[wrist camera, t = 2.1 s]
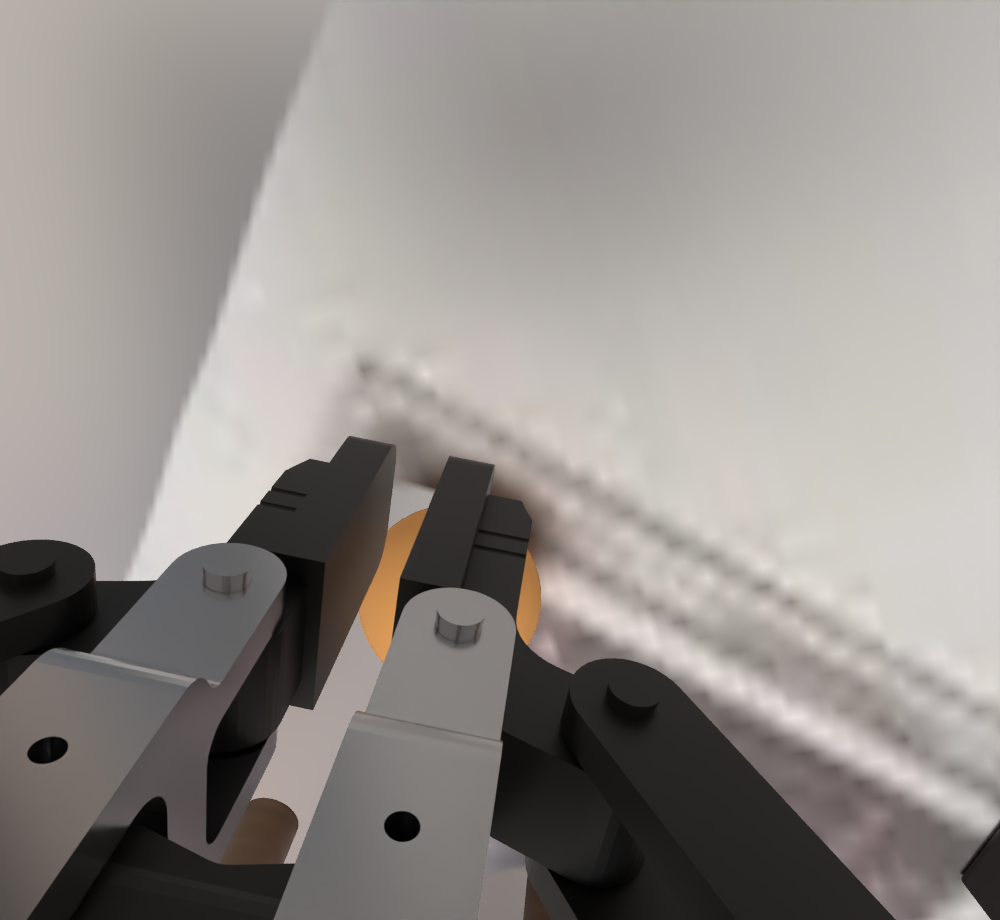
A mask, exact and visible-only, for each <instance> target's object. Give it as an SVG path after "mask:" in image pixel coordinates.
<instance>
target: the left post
mask: <svg viewBox="0 0 1000 920" xmlns="http://www.w3.org/2000/svg"><path fill="white" fill-rule="evenodd" d="M297 829H298V820H297V817H296V815H295V814H294V812H293V811H292V810H291V809H290V808H289V807H288V806H287V805H285V804H283V803H281V802H279V801H277V800H274V799H269V798H258V799H254V800H252V801H250V802H249V804H248V806H247V808H246V810H245V812H244V814H243V816H242V818H241V820H240V822H239V824H238V826H237V828H236V830H235V832H234V834H233V836H232V838H231V840H230V842H229V844H228V846H227V848H226V850H225V852H224V854H223V856H222V858H221V860H220V862H219V864H226V865H246V864H283V863H284V861H285V858H286V856H287V854H288V851H289V849H290V846H291V844H292V841H293V838H294V836H295V834H296V832H297Z"/></svg>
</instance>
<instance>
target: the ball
mask: <svg viewBox="0 0 1000 920" xmlns="http://www.w3.org/2000/svg"><path fill="white" fill-rule="evenodd" d="M427 510H428V508H427V509H424V510H421V511H418V512H415V513H413V514H411V515H409V516H407V517H406V518H404V519H402V520H400V521H399V522H398V523H396V524H395V525H393V526H392V527H391V528H390V529H389V530H388V531H387V536H386V541H385V546H384V550H383V554H382V558H381V561H380V564H379V567H378V569H377V572H376V574H375V576H374V578H373V580H372V583H371V585H370V587H369V589H368V591H367V594H366V596H365V598H364V600H363V602H362V604H361V607H360V609H359V616H360V621H361V625H362V628H363V631H364V633H365V636H366V638H367V640H368V642H369V644H370V646H371V648H372V649H373V651H374V652H375V653H376V655H377V656H378V657H379V659H380V660H381V661H382V662H383V663H384V660H385V657H386V655H387V652H388V649H389V646H390V644H391V641H392V633H393V626H394V618H395V611H396V603H397V596H398V588H399V581H400V576H401V574H402V571H403V569H404V567H405V564H406V562H407V559H408V557H409V554H410V552H411V549H412V547H413V544H414V542H415V539H416V537H417V535H418V532H419V530H420V527H421V525H422V522H423V520H424V517H425V515H426V512H427ZM540 608H541V586H540V580H539V575H538V571H537V568H536V565H535V562H534V560H533V558H532V556H531V554H530V552H529V551H528V549H527V555H526V561H525V567H524V574H523V580H522V586H521V592H520V598H519V605H518V611H517V619H516V624H517V628H518V631H519V634H520V636H521V638H522V639H523V641H524V642H525V644H526V645H527V646H528V644H529V642H530V640H531V638H532V636H533V634H534V632H535V629H536V626H537V623H538V619H539V615H540Z"/></svg>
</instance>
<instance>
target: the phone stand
mask: <svg viewBox="0 0 1000 920" xmlns="http://www.w3.org/2000/svg"><path fill="white" fill-rule="evenodd" d="M962 881H963V883H964V885H965V886H966V887H967V889H968V890H969V891H970V893H971V894H972V895H973V896H974V898H975V899H976V900H977V902H978V903H979V904H980V906H981V907H982V908H983V910H984V911H985V912H986V914H987V915H988V916H989V918H990V919H991V920H1000V827H999V829H998V830H997V831H996V833H995V834H994V835H993V837H992V838H991V839H990V841H989V842H988V843H987V844H986V846H985V847H984V848H983V850H982V851H981V852H980V854H979V855H978V856H977V858H976V859H975V860H974V861H973V863H972V864H971V865H970V867H969V868H968V869H967V871H966V872H965V873H964V875H963V876H962Z"/></svg>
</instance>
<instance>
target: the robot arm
mask: <svg viewBox="0 0 1000 920" xmlns="http://www.w3.org/2000/svg"><path fill="white" fill-rule="evenodd" d="M395 464H396V446H395V445H393V444H388V443H383V442H378V441H373V440H368V439H363V438H358V437H353V436H349V437H348V438H347V439H346V440H345V442H344V443H343V445H342V446H341V447H340V449H339V450H338V452H337V453H336V454H335V456H334V457H333V459H332V460H331V461H330V463H328V462H323V461H318V460H313V459H309V460H307V461H304V462H302V463H300V464H298V465H296V466H294V467H292V468H290V469H288V470H286V471H285V472H284V473H283V474H282V475H281V477H280V478H279V479H278V480H277V481H276V483H275V484H274V485H273V486H272V489H271V491H268V493H267V494H266V495H265V496H264V497H263V499H262V500H261V503H260V505H257V506H256V507H255V509H254V510H253V511H252V512H251V513H250V515H249V516H248V517H247V518H246V520H245V521H244V522H243V523H242V525H241V526H240V527H239V528H238V529H237V531H236V532H235V533H234V534H233V536H232V537H231V538H230V539H229V541H228V542H227V543H219V544H211V545H206V546H202V547H199V548H196V549H193V550H191V551H188V552H186V553H184V554H183V555H181V556H180V557H178V558H177V559H176V560H175V561H174V562H173V563H172V564H171V565H170V566H169V567H168V568H167V569H166V570H165V571H164V573H163V574H162V575H161V576H160V577H159V578H158V579H157V580H154V581H96V573H95V563H94V560H93V558H92V557H91V555H90V554H89V553H88V552H87V551H85V550H84V549H82V548H80V547H78V546H76V545H73V544H70V543H67V542H62V541H55V540H26V541H19V542H13V543H9V544H5V545H1V546H0V920H478V915H479V908H480V900H481V893H482V887H483V880H484V873H485V866H486V859H487V852H488V845H489V838H490V836H491V837H493V838H494V839H496V840H498V841H500V842H502V843H503V844H505V845H507V846H509V847H511V848H513V849H514V850H516V851H518V852H520V853H522V854H524V855H525V856H526V859H525V861H526V870H527V874H528V877H529V879H530V882H531V884H532V886H533V888H534V889H535V891H536V893H537V895H538V896H539V898H540V900H541V902H542V904H543V905H544V907H545V909H546V911H547V912H548V914H549V916H550V918H551V919H552V920H895V919H894V918H893V916H892V915H891V914H890V913H889V912H888V911H887V910H886V909H885V908H884V907H883V906H882V905H881V904H880V902H879V901H878V900H877V899H876V898H875V897H874V896H873V895H872V894H871V893H870V892H869V891H868V890H867V889H866V887H865V886H864V885H863V884H862V883H861V882H860V881H859V880H858V879H857V878H856V877H855V876H854V875H853V873H852V872H851V871H850V870H849V869H848V868H847V867H846V866H845V865H844V864H843V863H842V862H841V861H840V860H839V858H838V857H837V856H836V855H835V854H834V853H833V852H832V851H831V850H830V849H829V848H828V847H827V846H826V844H825V843H824V842H823V841H822V840H821V839H820V838H819V837H818V836H817V835H816V834H815V833H814V832H813V831H812V829H811V828H810V827H809V826H808V825H807V824H806V823H805V822H804V821H803V820H802V819H801V818H800V817H799V815H798V814H797V813H796V812H795V811H794V810H793V809H792V808H791V807H790V806H789V805H788V804H787V803H786V802H785V800H784V799H783V798H782V797H781V796H780V795H779V794H778V793H777V792H776V791H775V790H774V789H773V788H772V786H771V785H770V784H769V783H768V782H767V781H766V780H765V779H764V778H763V777H762V776H761V775H760V774H759V773H758V771H757V770H756V769H755V768H754V767H753V766H752V765H751V764H750V763H749V762H748V761H747V760H746V759H745V757H744V756H743V755H742V754H741V753H740V752H739V751H738V750H737V749H736V748H735V747H734V746H733V745H732V744H731V742H730V741H729V740H728V739H727V738H726V737H725V736H724V735H723V734H722V733H721V732H720V731H719V730H718V728H717V727H716V726H715V725H714V724H713V723H712V722H711V721H710V720H709V719H708V718H707V717H706V716H705V715H704V713H703V712H702V711H701V710H700V709H699V708H698V707H697V706H696V705H695V704H694V703H693V702H692V701H691V699H690V698H689V697H688V696H687V695H686V694H685V693H684V692H683V691H682V690H681V689H680V688H679V687H678V686H677V685H676V684H675V683H674V682H673V681H672V680H671V679H669V678H668V677H666V676H665V675H664V674H662V673H660V672H659V671H657V670H655V669H653V668H651V667H649V666H646V665H644V664H641V663H638V662H634V661H630V660H625V659H616V658H613V659H600V660H595V661H592V662H589V663H587V664H585V665H583V666H582V667H581V668H579V669H578V670H577V671H576V672H575V674H574V675H573V674H571V673H569V672H567V671H565V670H562V669H560V668H558V667H556V666H554V665H552V664H550V663H548V662H547V661H545V660H544V659H542V658H541V657H539V656H538V655H537V654H536V653H534V652H533V651H532V650H531V649H530V648H529V647H528V646H527V645H526V644H525V642H524V641H523V639H522V638H521V636H520V634H519V631H518V628H517V624H516V619H517V611H518V605H519V598H520V592H521V586H522V580H523V574H524V567H525V561H526V555H527V549H528V542H529V536H530V530H531V524H532V519H531V518H530V516H529V514H528V512H527V511H526V509H525V507H524V505H523V503H522V502H521V501H517V500H512V499H507V498H502V497H497V496H492V495H490V492H491V486H492V481H493V475H494V468H495V465H493V464H488V463H483V462H478V461H473V460H468V459H463V458H458V457H453V456H450V457H449V459H448V461H447V463H446V466H445V468H444V471H443V473H442V476H441V478H440V481H439V483H438V485H437V488H436V490H435V493H434V495H433V498H432V500H431V503H430V505H429V508H428V510H427V512H426V515H425V517H424V520H423V522H422V525H421V527H420V530H419V532H418V535H417V537H416V539H415V542H414V544H413V547H412V549H411V552H410V554H409V557H408V559H407V562H406V564H405V567H404V569H403V571H402V574H401V576H400V581H399V588H398V596H397V603H396V611H395V618H394V626H393V633H392V641H391V644H390V646H389V649H388V652H387V655H386V657H385V660H384V663H383V666H382V668H381V671H380V674H379V677H378V679H377V682H376V685H375V687H374V690H373V693H372V696H371V698H370V702H369V704H368V707H367V709H366V712H362V711H356V712H355V713H354V715H353V717H352V719H351V721H350V723H349V726H348V728H347V731H346V733H345V736H344V739H343V741H342V744H341V746H340V749H339V751H338V754H337V757H336V759H335V762H334V764H333V767H332V770H331V772H330V775H329V777H328V780H327V783H326V785H325V788H324V790H323V793H322V796H321V798H320V801H319V803H318V806H317V808H316V811H315V814H314V816H313V819H312V822H311V824H310V827H309V829H308V832H307V834H306V837H305V840H304V842H303V845H302V847H301V850H300V852H299V855H298V858H297V860H296V863H295V864H246V865H226V864H219V862H220V860H221V858H222V856H223V854H224V852H225V850H226V848H227V846H228V844H229V842H230V840H231V838H232V836H233V834H234V832H235V830H236V828H237V826H238V824H239V822H240V820H241V818H242V816H243V814H244V812H245V810H246V808H247V806H248V804H249V802H250V800H251V798H252V796H253V794H254V792H255V790H256V788H257V786H258V784H259V782H260V780H261V778H262V776H263V774H264V772H265V770H266V767H267V765H268V764H269V762H270V759H271V758H272V756H273V753H274V751H275V748H276V742H277V727H278V726H279V724H280V722H281V721H282V718H283V716H284V715H285V713H286V711H287V709H288V707H289V705H291V706H296V707H301V708H305V709H311V710H313V709H314V707H315V704H316V702H317V700H318V698H319V696H320V694H321V691H322V689H323V687H324V685H325V683H326V680H327V678H328V676H329V674H330V672H331V669H332V667H333V665H334V663H335V661H336V659H337V656H338V654H339V652H340V650H341V647H342V646H343V643H344V641H345V639H346V637H347V635H348V633H349V630H350V628H351V626H352V624H353V622H354V619H355V617H356V615H357V613H358V611H359V609H360V607H361V604H362V602H363V600H364V598H365V596H366V594H367V591H368V589H369V587H370V585H371V583H372V580H373V578H374V576H375V574H376V572H377V569H378V567H379V564H380V561H381V558H382V554H383V550H384V546H385V541H386V536H387V529H388V521H389V513H390V505H391V496H392V488H393V480H394V472H395Z"/></svg>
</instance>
